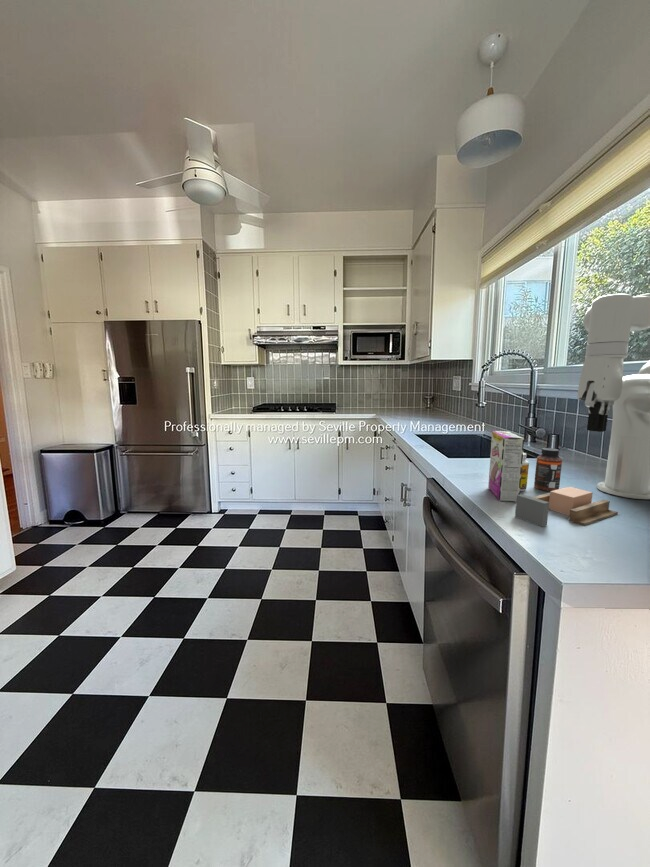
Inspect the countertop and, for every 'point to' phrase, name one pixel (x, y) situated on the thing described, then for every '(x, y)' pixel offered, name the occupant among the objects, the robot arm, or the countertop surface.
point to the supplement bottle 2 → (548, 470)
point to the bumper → (532, 510)
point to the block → (568, 499)
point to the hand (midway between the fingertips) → (596, 430)
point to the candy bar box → (505, 465)
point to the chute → (586, 511)
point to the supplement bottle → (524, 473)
